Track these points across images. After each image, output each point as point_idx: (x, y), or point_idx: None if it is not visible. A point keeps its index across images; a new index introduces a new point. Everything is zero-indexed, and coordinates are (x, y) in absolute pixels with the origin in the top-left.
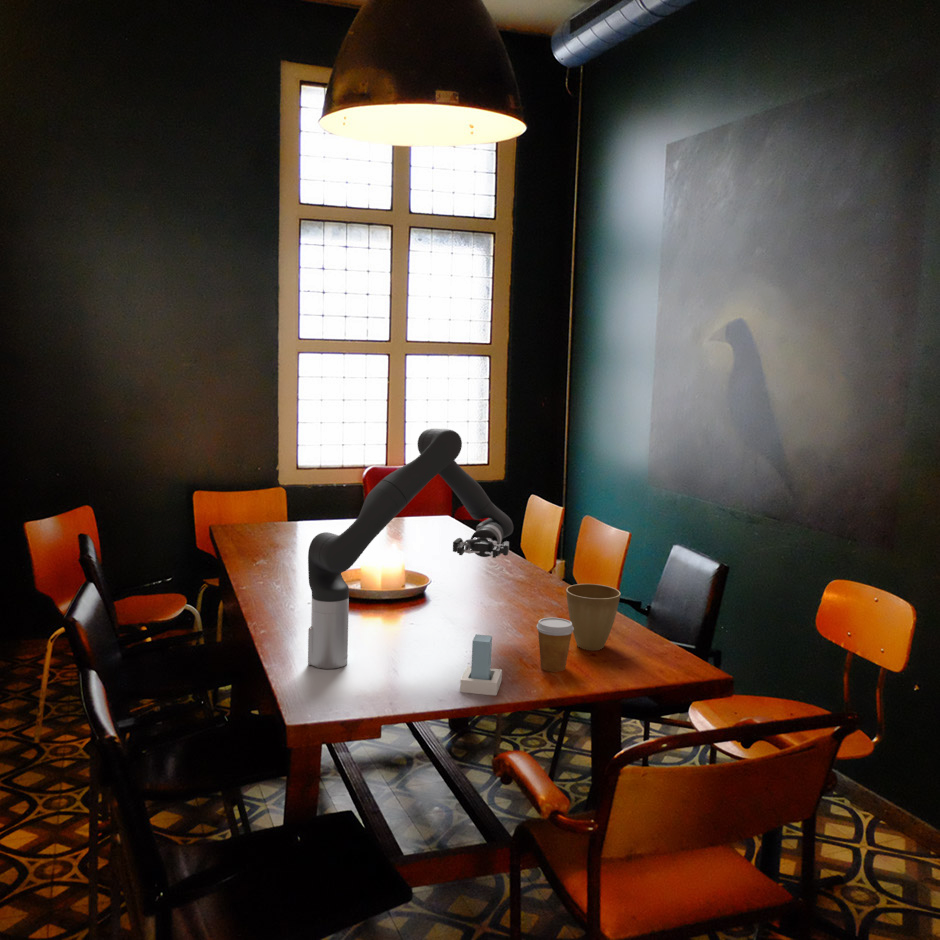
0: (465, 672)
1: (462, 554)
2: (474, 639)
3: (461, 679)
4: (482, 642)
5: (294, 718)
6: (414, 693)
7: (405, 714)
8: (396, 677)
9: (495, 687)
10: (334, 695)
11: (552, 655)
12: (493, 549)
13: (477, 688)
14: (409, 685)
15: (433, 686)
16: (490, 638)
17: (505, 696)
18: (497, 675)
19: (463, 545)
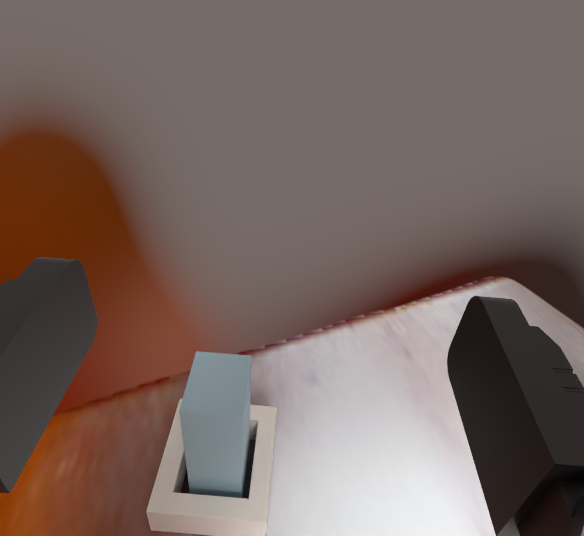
0: (268, 462)
1: (459, 409)
2: (245, 365)
3: (274, 409)
4: (218, 355)
5: (522, 291)
6: (381, 404)
7: (362, 317)
8: (472, 503)
9: None
10: None
11: None
12: (68, 260)
13: None
14: (412, 450)
15: (350, 453)
16: (188, 383)
17: (158, 418)
18: (170, 453)
19: (517, 387)
